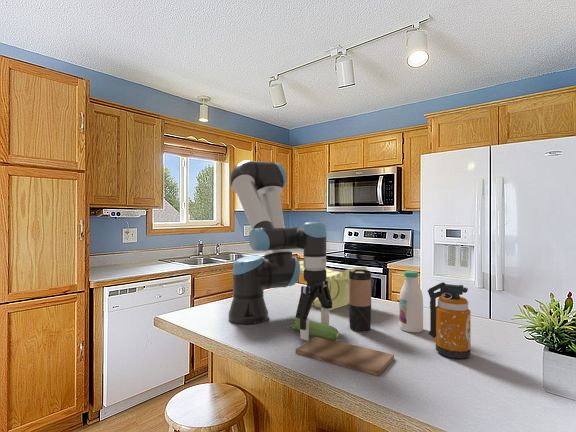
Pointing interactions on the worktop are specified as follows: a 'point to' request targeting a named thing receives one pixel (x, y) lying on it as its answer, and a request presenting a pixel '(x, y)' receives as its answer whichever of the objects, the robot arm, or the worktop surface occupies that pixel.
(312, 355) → the serving board
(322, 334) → the edible corn
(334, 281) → the slatted curved stool
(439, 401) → the worktop surface
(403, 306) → the milk bottle
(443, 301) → the canister
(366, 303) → the travel mug
